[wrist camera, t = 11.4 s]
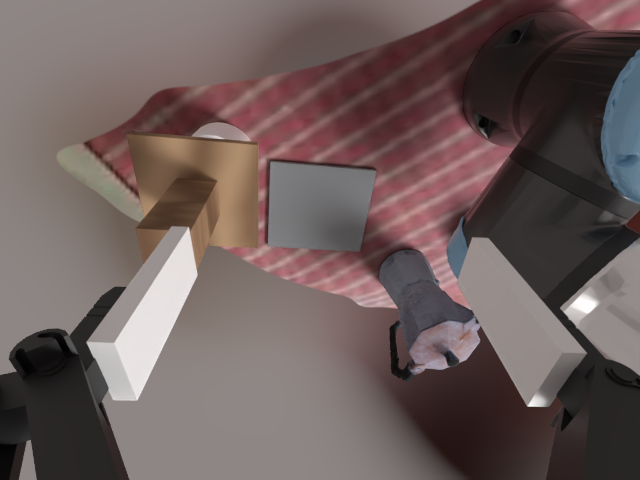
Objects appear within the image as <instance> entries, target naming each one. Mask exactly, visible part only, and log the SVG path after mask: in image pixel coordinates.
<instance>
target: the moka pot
mask: <svg viewBox="0 0 640 480" xmlns="http://www.w3.org/2000/svg"><path fill="white" fill-rule="evenodd" d="M379 280H380V282H381V283H382V285H383V286H384V288H385V289H386V291H387V292H388V294H389V295H390V297H391V298H392V300H393V301H394V303H395V304H396V306H397V307H398V310H399V312H398V314H399V317H400V321H401V322H400V321H396V323H395V324H393V325H392V326H391V327H390V350H391V370H392V374H393V375H395V376H397V377H398V378H402V379H403V380H406V381H407V382H409V381H410V380H411V379H412V378H413V376H414V375H415V374H419V373H421V372H422V371H424V369H425V368H430V369H440V370H442V369H445V368H447V367H454V366H456V365H458V364H459V363H460V362H462V361H464V360H466V359H467V358H468V357H469V356H470V354H471V353H472V351H473V350H474V349H475V348H476V346H477V345H478V344H479V342H480V339H479V336H478V334H477V330H478V329H479V328H480V326H481V325H480V323H479V321H478V320H477V318H476V316H475V314H474V313H473V311H472V310H470V309H468V308H466V307H464V306H462V305H460V304H458V303H456V302H454V301H453V300H452V299H451V298H450V297H449V296H448V295H447V293H446V292H445V291H442V290H441V289H440V287H439V284H440V282H439V281H438V280H437V279H436V278H435V275H434V273H433V271H432V268H431V266H430V264H429V262H428V260H427V259H426V257H425V256H424V255H423V254H422V253H421V252H418V251H415V250H402V251H398V252H395V253H393V254H392V255H390V256H389V257H388V258H387V259H386V260H385V261H384V262H383V263H382V265H381V267H380V271H379ZM401 325H402V329H403V333H404V337H405V341H406V345H407V348H408V352H409V354H410V355H411V357H412V359H411V360H410V361H409V362H408V363H407V366H406V367H405V368H404V369H403V370H401V369H399V367H398V361H399V358H398V357H397V356H398V354H397V346H396V337H395V336H396V331H397V329H398V328H399V327H400V326H401Z"/></svg>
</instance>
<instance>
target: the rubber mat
mask: <svg viewBox="0 0 640 480" xmlns="http://www.w3.org/2000/svg"><path fill="white" fill-rule="evenodd" d="M376 172H377V171H376V169H364V168H353V167H341V166H330V165H318V164H306V163H295V162H283V161H272V160H271V161H270V190H269V225H268V246H271V247H287V248H304V249H320V250H337V251H353V252H360V249H361V244H362V239H363V234H364V229H365V225H366V220H367V215H368V210H369V206H370V201H371V196H372V191H373V186H374V182H375V177H376Z"/></svg>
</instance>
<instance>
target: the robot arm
mask: <svg viewBox="0 0 640 480" xmlns="http://www.w3.org/2000/svg"><path fill="white" fill-rule="evenodd" d="M463 106H464V112H465V115H466V118H467V120H468V122H469V124H470V126H471V127H472V129H473V130H474V131H475V132H476V133H477V134H478V135H480V136H481V137H483V138H484V139H486V140H488V141H489V142H491V143H494V144H496V145H500V146H504V147H515V149H514V150H513V151H512V153H511V154H510V155H509V156H508V158H507V159H506V160H505V162H504V163H503V165H502V166H501V167H500V169H499V170H498V172H497V173H496V174H495V176H494V177H493V178H492V180H491V181H490V183H489V184H488V185H487V187H486V188H485V189H484V191H483V192H482V193H481V195H480V196H479V197H478V199H477V200H476V201H475V203H474V204H473V205H472V207H471V208H470V209H469V211H468V212H467V213H466V214H465V215H463V217H462V218H461V220H460V223H459V226H458V227H457V229H456V230H455V232H454V233H453V235H452V236H451V238H450V239H449V241H448V244H447V256H448V262H449V265H450V267H451V269H452V271H453V273H454V275H455V276H456V278H457V279H458V280H457V285H458V287H459V288H460V290H461V292H462V294H463V295H464V297H465V299H466V300H467V302H468V304H469V306H470V307H471V309H472V311H473V313H474V314H475V316H476V318H477V320H478V321H479V323H480V325H481V327H482V328H483V330H484V332H485V334H486V335H487V337H488V339H489V340H490V342H491V344H492V346H493V347H494V349H495V351H496V353H497V354H498V356H499V358H500V359H501V361H502V363H503V365H504V366H505V368H506V370H507V372H508V373H509V375H510V377H511V379H512V380H513V382H514V384H515V385H516V387H517V389H518V391H519V392H520V394H521V396H522V398H523V399H524V401H525V403H526V405H527V406H539V407H540V406H541V407H549V406H550V404H551V403H552V402H553V400H554V399H555V397H556V396H557V397H558V398H559V399H560V401H561V402H562V404H563V405H564V406H563V407H562V408H561V410H560V411H559V412H558V414H557V415H556V416H555V418H554V419H553V421H552V422H551V424H550V425H551V426H552V427H554V425H555V424H556V423H557V426H556V431H555V436H554V441H553V446H552V451H551V456H550V461H549V466H548V471H547V476H546V480H640V234H639V233H637V232H635V231H634V230H632V229H630V228H628V227H627V226H626V223H627V222H628V221H629V220H630V219H631V218H632V217H633V216H634V215H635V214H636V213H637V212H638V211H639V210H640V30H607V31H603V30H602V31H598V30H596V29H595V28H593V27H592V26H591V25H589V24H588V23H586V22H585V21H583V20H582V19H580V18H579V17H577V16H575V15H573V14H569V13H566V12H559V11H547V12H536V13H531V14H527V15H524V16H521V17H519V18H517V19H515V20H513V21H511V22H510V23H508V24H506V25H505V26H503V27H502V28H501V29H499V30H498V31H497V32H496V33H495V34H494V35H493V36H492V37H491V38H490V39H489V40H488V41H487V42H486V43H485V44H484V46H483V47H482V48H481V50H480V51H479V52H478V54H477V56H476V57H475V59H474V61H473V63H472V65H471V67H470V69H469V72H468V74H467V77H466V81H465V85H464V92H463ZM196 277H197V270H196V264H195V259H194V253H193V247H192V242H191V236H190V231H189V227H177V226H172V227H171V228H170V229H169V231H168V232H167V233H166V235H165V236H164V237H163V239H162V240H161V241H160V243H159V244H158V246H157V247H156V248H155V250H154V251H153V252H152V254H151V255H150V256H149V258H148V259H147V260H146V262H145V263H144V265H143V266H142V267H141V269H140V270H139V271H138V273H137V274H136V276H135V277H134V278H133V280H132V281H131V282H130V284H129V285H128V286H127V287H114V288H112V289H111V290H110V291H108V292H107V293H105V294H104V295H102V296H101V297H100V299H99V300H98V301H97V302H96V304H95V305H94V307H93V308H92V309H91V310H90V311H89V313H88V314H87V316H86V317H84V319H83V320H82V321H81V322H80V323H79V325H78V326H77V327H76V328H75V330H74V331H73V332H72V333H71V335H70V336H69V335H68V334H67V332H66V331H65V330H61V329H47V330H43V331H40V332H36V333H34V334H32V335H30V336H28V337H26V338H25V339H23V340H22V341H21V342H19V343H18V344H17V345H16V346H15V347H14V348H13V350H12V351H11V352H10V356H9V360H10V361H11V363H12V364H13V366H14V368H15V369H16V371H17V372H12V373H8V374H3V375H0V480H19V476H20V471H21V466H22V461H23V456H24V451H25V446H26V442H27V441H28V440H31V443H32V450H33V456H34V464H35V470H36V477H37V480H129V477H128V474H127V471H126V468H125V466H124V463H123V460H122V457H121V454H120V451H119V448H118V446H117V443H116V439H115V437H114V434H113V431H112V428H111V425H110V422H109V419H108V416H107V413H106V410H105V408H104V405H103V403H102V400H103V398H104V396H105V394H106V393H107V391H108V390H109V392H110V394H111V396H112V398H113V400H134V401H137V400H138V398H139V396H140V394H141V392H142V390H143V388H144V386H145V383H146V381H147V379H148V377H149V375H150V373H151V371H152V368H153V367H154V365H155V362H156V360H157V358H158V356H159V354H160V352H161V350H162V348H163V346H164V344H165V342H166V340H167V338H168V336H169V333H170V331H171V329H172V327H173V325H174V323H175V321H176V319H177V317H178V315H179V312H180V310H181V308H182V306H183V304H184V302H185V300H186V298H187V296H188V294H189V292H190V290H191V288H192V286H193V283H194V281H195V279H196ZM604 357H606V358H607V359H605V358H604Z"/></svg>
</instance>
